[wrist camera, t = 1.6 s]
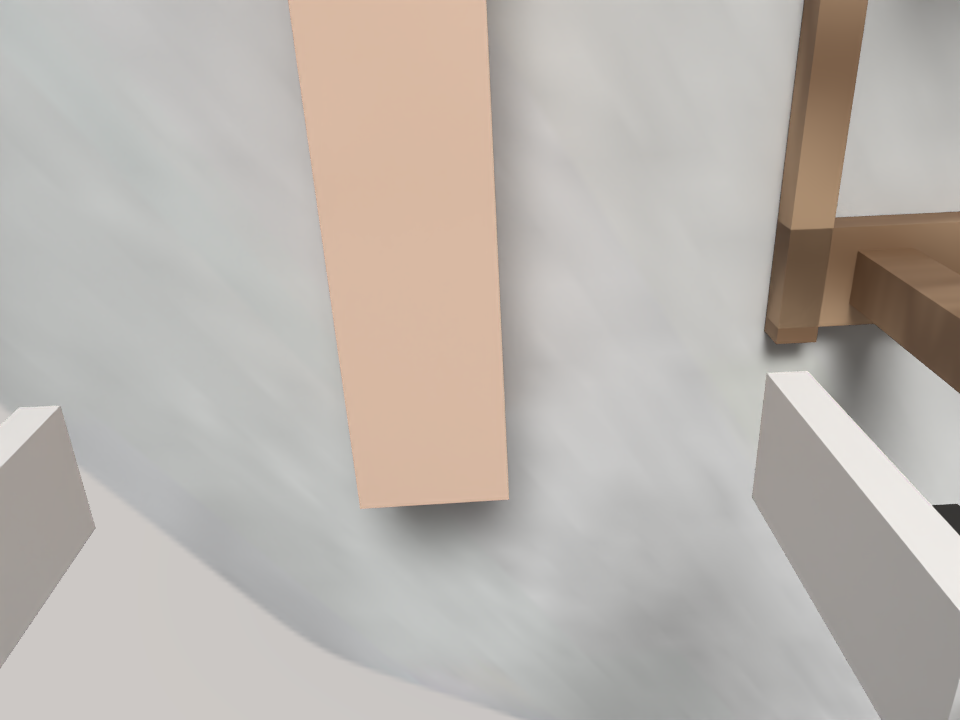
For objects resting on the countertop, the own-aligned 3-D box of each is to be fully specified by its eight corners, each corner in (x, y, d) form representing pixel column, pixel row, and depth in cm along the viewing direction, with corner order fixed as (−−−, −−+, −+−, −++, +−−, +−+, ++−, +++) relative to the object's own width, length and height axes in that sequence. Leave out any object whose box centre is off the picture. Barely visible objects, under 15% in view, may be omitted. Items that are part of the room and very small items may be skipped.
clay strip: (290, -269, 18) (238, -348, 14) (465, -279, 18) (469, -362, 14) (376, 417, 26) (360, 508, 22) (499, 409, 26) (509, 499, 22)
